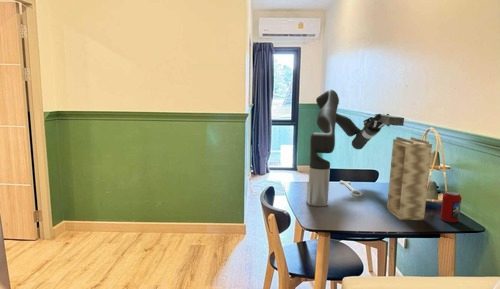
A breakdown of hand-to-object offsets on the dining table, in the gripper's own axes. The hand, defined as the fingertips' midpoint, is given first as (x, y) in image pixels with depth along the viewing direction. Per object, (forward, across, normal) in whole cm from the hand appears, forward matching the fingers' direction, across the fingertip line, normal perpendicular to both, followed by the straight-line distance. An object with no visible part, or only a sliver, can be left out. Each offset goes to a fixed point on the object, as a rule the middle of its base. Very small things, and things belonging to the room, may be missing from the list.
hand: (384, 115), depth 171 cm
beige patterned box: (+1, +2, +48) cm, 48 cm away
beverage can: (+7, +18, +51) cm, 55 cm away
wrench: (-34, -8, +29) cm, 45 cm away
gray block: (+2, 0, +5) cm, 6 cm away
